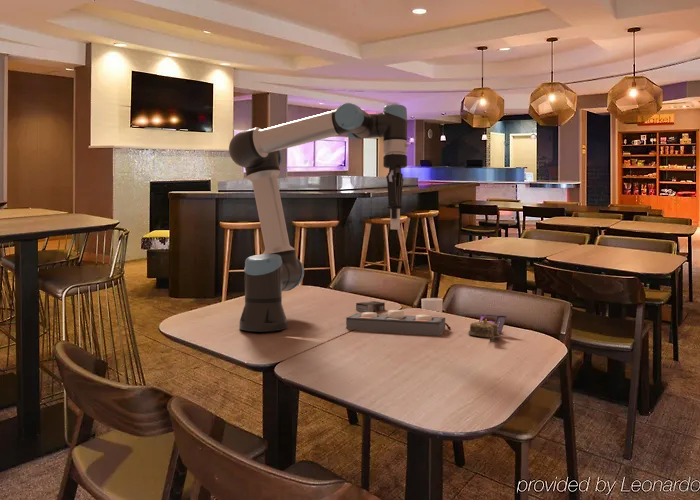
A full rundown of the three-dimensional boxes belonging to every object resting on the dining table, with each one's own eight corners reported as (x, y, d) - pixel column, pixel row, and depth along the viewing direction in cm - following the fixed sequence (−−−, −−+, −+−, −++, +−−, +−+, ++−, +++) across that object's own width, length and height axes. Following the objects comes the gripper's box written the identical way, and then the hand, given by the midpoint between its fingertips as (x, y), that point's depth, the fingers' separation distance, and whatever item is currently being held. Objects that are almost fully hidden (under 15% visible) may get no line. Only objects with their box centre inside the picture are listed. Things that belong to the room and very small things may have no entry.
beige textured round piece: (465, 337, 167) (465, 320, 166) (470, 332, 176) (470, 315, 176) (499, 340, 163) (499, 321, 163) (502, 334, 172) (503, 317, 172)
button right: (414, 326, 174) (414, 316, 174) (417, 324, 179) (417, 314, 179) (429, 327, 172) (429, 317, 172) (432, 325, 177) (432, 315, 177)
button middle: (386, 321, 177) (386, 311, 177) (390, 319, 182) (390, 309, 181) (401, 322, 175) (401, 312, 175) (405, 320, 180) (405, 310, 180)
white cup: (420, 324, 210) (420, 298, 210) (441, 324, 210) (441, 298, 210) (422, 327, 203) (421, 300, 202) (443, 327, 202) (443, 300, 202)
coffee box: (372, 343, 207) (373, 300, 206) (385, 346, 202) (385, 302, 202) (354, 346, 201) (355, 302, 200) (367, 349, 196) (368, 304, 196)
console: (346, 330, 178) (346, 317, 178) (356, 325, 188) (356, 312, 188) (439, 335, 168) (439, 322, 168) (445, 329, 179) (445, 317, 179)
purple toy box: (498, 331, 170) (473, 330, 177) (505, 341, 173) (480, 339, 180) (505, 314, 174) (480, 312, 180) (512, 323, 176) (487, 322, 183)
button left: (359, 323, 180) (359, 313, 180) (364, 321, 184) (364, 311, 184) (374, 324, 178) (374, 314, 178) (378, 322, 183) (378, 312, 183)
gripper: (402, 151, 168) (401, 229, 169) (411, 157, 181) (411, 229, 181) (378, 152, 171) (378, 229, 171) (389, 158, 183) (388, 229, 184)
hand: (395, 229), depth 176 cm, fingers closed
